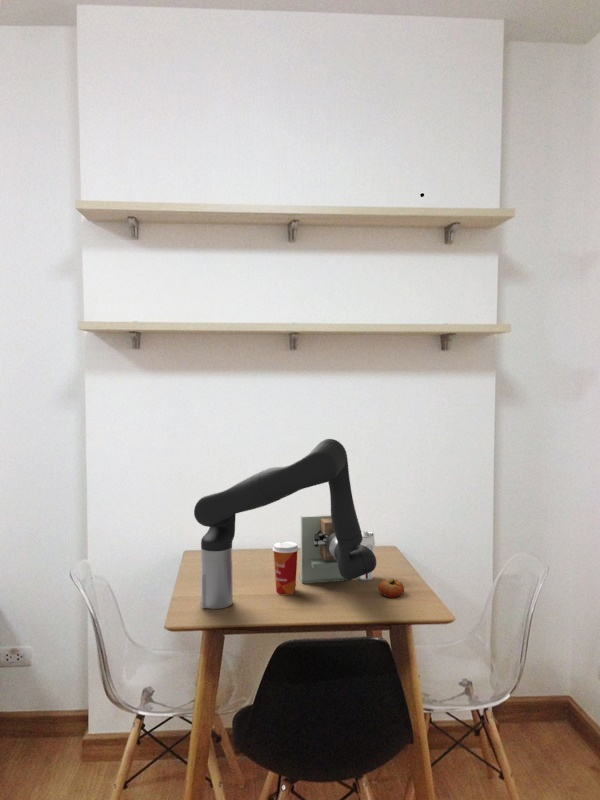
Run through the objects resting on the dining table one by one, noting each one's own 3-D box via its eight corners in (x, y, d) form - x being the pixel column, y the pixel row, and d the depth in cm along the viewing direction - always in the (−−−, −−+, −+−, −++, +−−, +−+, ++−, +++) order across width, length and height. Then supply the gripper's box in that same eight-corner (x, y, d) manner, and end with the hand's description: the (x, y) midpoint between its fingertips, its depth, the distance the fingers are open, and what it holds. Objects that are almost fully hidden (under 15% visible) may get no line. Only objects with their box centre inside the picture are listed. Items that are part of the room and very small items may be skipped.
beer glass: (350, 579, 210) (350, 535, 209) (357, 573, 217) (358, 530, 216) (370, 582, 207) (370, 537, 207) (377, 576, 214) (377, 532, 213)
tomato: (377, 594, 193) (380, 572, 197) (375, 602, 198) (379, 580, 203) (403, 599, 192) (406, 577, 196) (401, 607, 197) (404, 585, 201)
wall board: (305, 589, 201) (305, 521, 200) (299, 578, 212) (299, 513, 210) (356, 585, 205) (356, 518, 204) (348, 575, 215) (348, 511, 214)
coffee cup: (269, 588, 202) (269, 542, 201) (293, 585, 205) (293, 540, 204) (277, 597, 194) (277, 549, 193) (302, 594, 197) (302, 546, 196)
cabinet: (325, 561, 200) (325, 523, 199) (320, 554, 207) (320, 518, 206) (341, 560, 201) (340, 522, 200) (335, 554, 208) (335, 517, 207)
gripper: (364, 533, 191) (349, 521, 208) (318, 536, 189) (306, 523, 205) (364, 558, 192) (349, 543, 208) (318, 561, 189) (306, 546, 206)
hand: (328, 533), depth 207 cm, fingers closed on cabinet, 5 cm apart
